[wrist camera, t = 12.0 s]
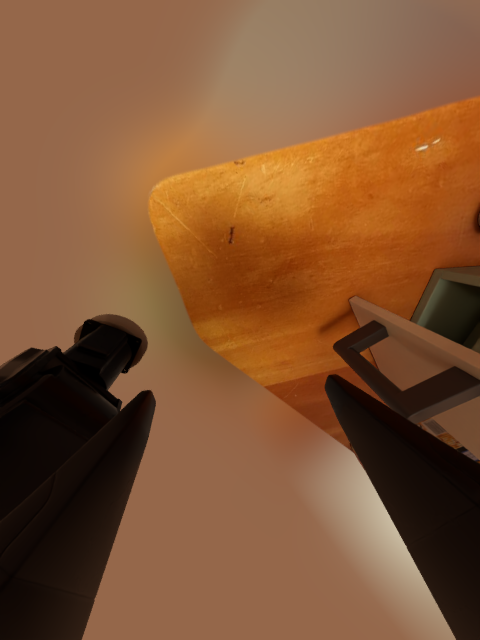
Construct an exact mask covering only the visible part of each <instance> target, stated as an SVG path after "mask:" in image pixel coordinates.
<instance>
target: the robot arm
mask: <svg viewBox="0 0 480 640" xmlns="http://www.w3.org/2000/svg"><path fill="white" fill-rule="evenodd" d="M89 323H91V324H89ZM136 341H138V342H136ZM141 343H142V340H141V339H140V338H138V337H136V336H133V335H131V334H128V333H125V332H123V331H120V330H118V329H115V328H113V327H110V326H107V325H105V324H102V323H100V322H97V321H95V320H92V319H87V320H86V321H84V324H83V327H82V331H81V334H80V338H79V341H78V342H77V343H76V344H74V345H73V346H72V347H71V348H69V349H68V350H66V351H65V352H64V353H62V352H61V349H60V348H58V347H57V346H55V347H53V348H51V349H48V350H40V349H35V348H30V349H27V350H25V351H24V352H22V353H20V354H19V355H17V356H15V357H14V358H12V359H11V360H9V361H7V362H6V363H4V364H3V365H1V366H0V640H82V637H83V634H84V631H85V628H86V625H87V622H88V619H89V616H90V613H91V610H92V607H93V604H94V599H95V597H96V595H97V591H98V588H99V585H100V582H101V579H102V576H103V573H104V570H105V567H106V564H107V561H108V558H109V555H110V552H111V549H112V546H113V543H114V540H115V537H116V534H117V531H118V528H119V525H120V522H121V519H122V516H123V513H124V510H125V507H126V504H127V501H128V498H129V495H130V492H131V489H132V486H133V483H134V480H135V477H136V474H137V471H138V468H139V465H140V462H141V459H142V456H143V453H144V450H145V447H146V444H147V440H148V437H149V433H150V428H151V423H152V419H153V415H154V411H155V406H156V401H155V398H154V395H153V393H152V391H151V390H146V391H142V392H140V393H139V394H138V395H137V396H136V397H135V398H134V399H133V400H131V401H130V402H129V403H128V404H127V405H126V406H125V407H124V408H123V409H122V410H121V411H120V409H121V405H122V401H121V400H120V399H117V398H116V397H114V396H113V395H112V394H111V393H110V392H109V391H108V389H109V388H110V386H111V385H112V384H113V382H114V381H115V380H116V378H117V377H118V375H119V374H120V373H123V374H126V373H128V371H129V369H130V367H131V365H132V363H133V361H134V359H135V356H136V354H137V352H138V350H139V348H140V346H141ZM325 391H326V393H327V395H328V398H329V400H330V402H331V405H332V407H333V409H334V412H335V414H336V416H337V419H338V421H339V423H340V425H341V426H342V428H343V430H344V432H345V434H346V436H347V438H348V439H349V441H350V443H351V445H352V447H353V449H354V450H355V452H356V454H357V456H358V458H359V460H360V462H361V463H362V465H363V467H364V469H365V471H366V473H367V475H368V476H369V478H370V480H371V482H372V484H373V486H374V487H375V489H376V491H377V493H378V495H379V497H380V499H381V501H382V502H383V504H384V506H385V508H386V510H387V512H388V514H389V515H390V517H391V519H392V521H393V523H394V525H395V527H396V528H397V530H398V532H399V534H400V536H401V538H402V539H403V541H404V543H405V545H406V546H407V549H408V551H409V553H410V554H411V556H412V558H413V560H414V562H415V564H416V566H417V568H418V570H419V571H420V573H421V575H422V577H423V579H424V581H425V582H426V584H427V586H428V588H429V590H430V592H431V593H432V596H433V597H434V599H435V601H436V603H437V604H438V607H439V608H440V610H441V612H442V614H443V616H444V618H445V620H446V622H447V623H448V625H449V627H450V629H451V631H452V633H453V634H454V636H455V638H456V640H480V463H478V462H476V461H475V460H473V459H471V458H470V457H468V456H466V455H465V454H463V453H461V452H459V451H458V450H456V449H454V448H453V447H451V446H450V445H448V444H446V443H445V442H443V441H441V440H440V439H438V438H437V437H435V436H433V435H432V434H430V433H429V432H427V431H426V430H423V429H422V428H421V427H419V426H418V425H416V424H414V423H413V422H411V421H410V420H408V419H406V418H405V417H403V416H402V415H400V414H399V413H397V412H395V411H394V410H392V409H391V408H389V407H388V406H386V405H384V404H383V403H381V402H380V401H378V400H376V399H375V398H373V397H372V396H370V395H369V394H367V393H365V392H364V391H362V390H361V389H359V388H358V387H356V386H354V385H353V384H351V383H350V382H348V381H346V380H345V379H343V378H342V377H340V376H339V375H336V374H333V375H328V377H327V380H326V383H325Z"/></svg>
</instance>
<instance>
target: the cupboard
mask: <svg viewBox="0 0 480 640" xmlns="http://www.w3.org/2000/svg"><path fill="white" fill-rule="evenodd" d="M411 322H413V323H415V324H417V325H419V326H421V327H424V328H426V329H428V330H430V331H432V332H434V333H436V334H439V335H441V336H443V337H445V338H447V339H449V340H451V341H454V342H456V343H458V344H460V345H462V346H464V347H466V348H469V349H471V350H473V351H475V352H477V353H479V354H480V266H471V267H457V268H443V269H435V271H434V273H433V275H432V277H431V279H430V281H429V283H428V285H427V287H426V289H425V291H424V294H423V296H422V298H421V300H420V302H419V304H418V306H417V308H416V310H415V312H414V314H413V316H412V318H411Z"/></svg>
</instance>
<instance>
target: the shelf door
mask: <svg viewBox="0 0 480 640" xmlns="http://www.w3.org/2000/svg"><path fill="white" fill-rule="evenodd" d="M349 302H350V304H351V307H352V309H353V311H354V314H355V316H356V318H357V321H358V323H359V325H360V327H361V328H359V329H357V330H356V331H354V332H352V333H351V334H349V335H347V336H346V337H344V338H342V339H341V340H339V341H337V342H336V343H335V344H334V345H333V349H334V350H335V351H336V352H337V353H338V354H339V356H340V357H341V358H342V359H343V360H344V361H345V362H346V363H347V364H348V365H349V366H350V367H351V368H352V369H353V370H354V371H355V372H356V373H357V374H358V375H359V376H360V377H361V378H362V379H363V380H364V381H365V382H366V383H367V384H368V385H369V387H370V388H371V389H372V390H373V391H374V392H375V393H376V394H377V395H378V396H379V397H380V398H381V399H382V400H383V401H384V402H385V403H386V404H387V405H388V406H389V407H390V408H391V409H392V410H394V411H395V412H397V413H399V414H400V415H402V416H403V417H405V418H406V419H408V420H410V421H411V422H413V423H414V424H417V423H420V422H422V421H424V420H426V419H429V418H432V419H433V420H434V421H436V422H437V423H438V424H439V425H440V426H441V427H442V428H444V429H445V430H446V431H447V432H448V433H449V434H450V435H452V436H453V437H454V438H455V439H456V440H457V441H458V442H460V443H461V444H462V445H463V446H464V447H465V448H466V449H468V450H469V451H470V452H471V453H472V454H473V455H474V456H475V457H477V458H478V459H479V460H480V354H479V353H477V352H475V351H473V350H471V349H469V348H466V347H464V346H462V345H460V344H458V343H456V342H454V341H451V340H449V339H447V338H445V337H443V336H441V335H439V334H436V333H434V332H432V331H430V330H428V329H426V328H424V327H421V326H419V325H417V324H415V323H413V322H411V321H409V320H406V319H404V318H402V317H400V316H398V315H396V314H394V313H391V312H389V311H387V310H385V309H383V308H381V307H379V306H376V305H374V304H372V303H370V302H368V301H366V300H364V299H361V298H359V297H357V296H354V297H353V298H351V299H349ZM367 348H370V350H371V353H372V355H373V357H374V359H375V362H376V364H377V366H378V369H379V370H378V369H377V368H375V367H374V366H373V365H372V364H371V363H370V362H369V361H367V360H366V359H365V358H364V357H363V356H362V355H360V354H359V353H360V352H362V351H364V350H365V349H367Z"/></svg>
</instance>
